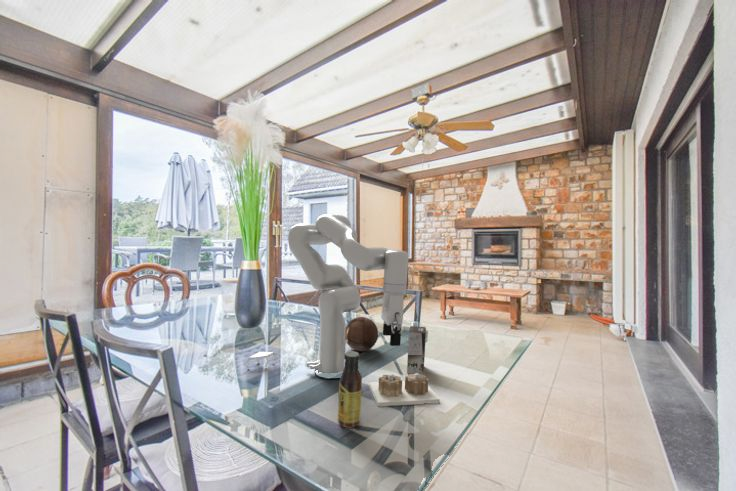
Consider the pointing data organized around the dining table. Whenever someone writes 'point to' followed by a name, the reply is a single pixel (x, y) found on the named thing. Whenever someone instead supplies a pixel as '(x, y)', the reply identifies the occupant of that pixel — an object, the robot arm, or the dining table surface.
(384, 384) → the beech gear
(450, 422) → the dining table surface
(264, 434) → the dining table surface
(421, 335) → the coffee box
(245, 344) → the dining table surface
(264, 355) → the origami figure
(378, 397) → the gear board
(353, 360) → the sauce bottle
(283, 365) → the dining table surface
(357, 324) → the wooden sphere
